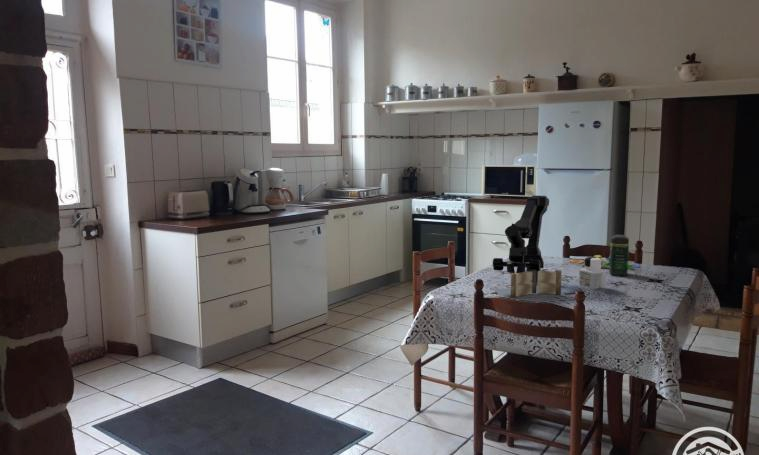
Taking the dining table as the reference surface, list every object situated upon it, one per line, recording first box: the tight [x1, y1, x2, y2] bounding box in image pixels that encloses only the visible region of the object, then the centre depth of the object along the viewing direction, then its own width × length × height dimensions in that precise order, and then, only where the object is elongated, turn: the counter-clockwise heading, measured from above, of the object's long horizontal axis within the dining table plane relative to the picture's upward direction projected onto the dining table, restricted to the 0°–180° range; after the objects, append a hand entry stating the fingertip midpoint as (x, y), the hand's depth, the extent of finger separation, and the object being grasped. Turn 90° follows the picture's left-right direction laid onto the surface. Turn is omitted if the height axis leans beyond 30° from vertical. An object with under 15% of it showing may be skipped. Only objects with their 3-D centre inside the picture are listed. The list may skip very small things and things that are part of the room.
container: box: [578, 256, 607, 290], centre depth 246 cm, size 8×8×13 cm
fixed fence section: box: [537, 269, 563, 294], centre depth 234 cm, size 9×2×10 cm, turn 72°
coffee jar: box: [609, 234, 630, 277], centre depth 270 cm, size 10×8×19 cm
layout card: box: [493, 287, 567, 298], centre depth 239 cm, size 15×26×1 cm, turn 92°
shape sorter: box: [569, 254, 640, 271], centre depth 293 cm, size 34×19×5 cm, turn 58°
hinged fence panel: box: [510, 269, 538, 298], centre depth 233 cm, size 13×2×9 cm, turn 121°
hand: (514, 282), depth 233 cm, fingers closed
